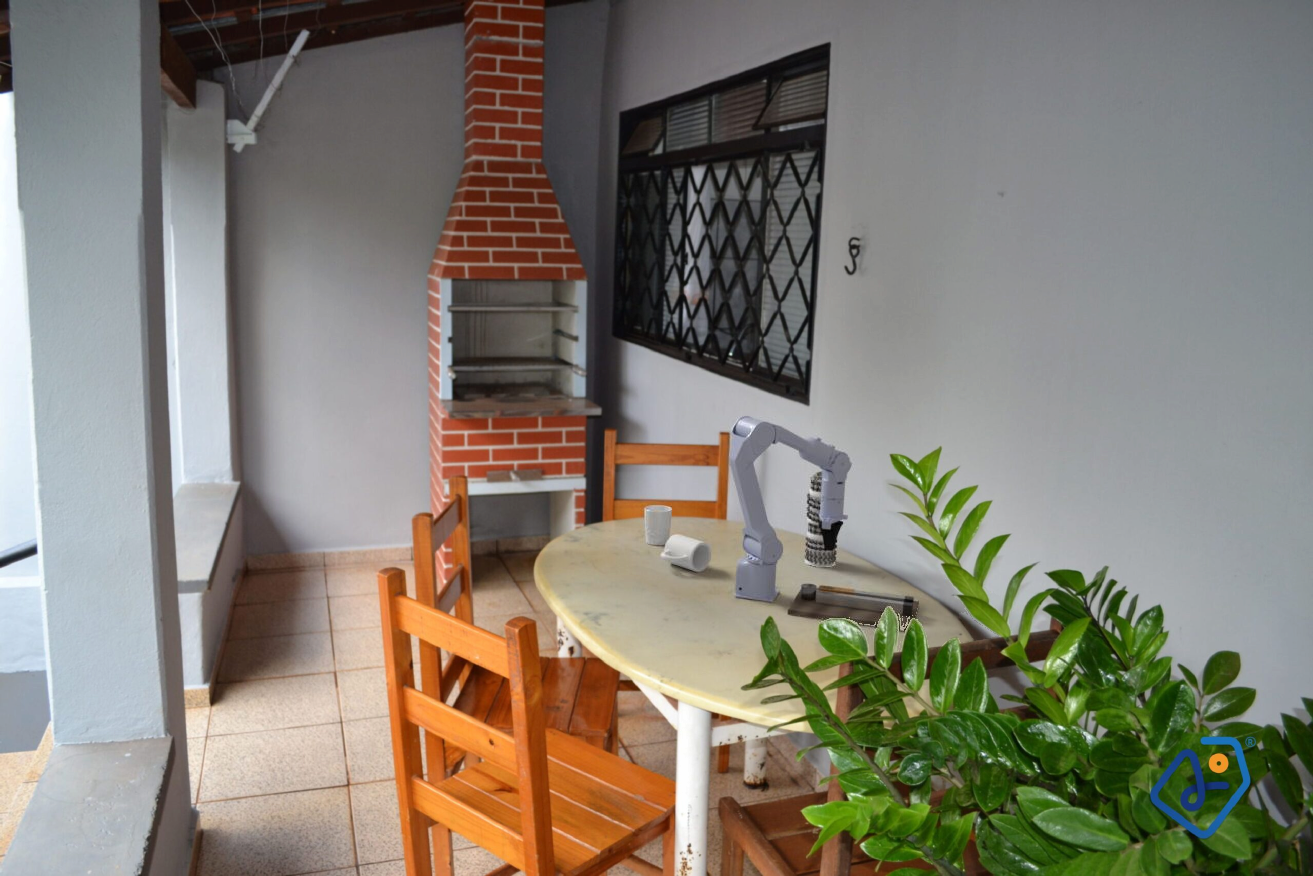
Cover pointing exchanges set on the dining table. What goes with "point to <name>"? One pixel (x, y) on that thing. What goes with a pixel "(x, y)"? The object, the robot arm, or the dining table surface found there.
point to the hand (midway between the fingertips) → (829, 549)
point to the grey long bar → (863, 602)
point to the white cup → (657, 524)
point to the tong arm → (810, 593)
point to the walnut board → (840, 611)
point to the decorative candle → (816, 528)
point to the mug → (687, 552)
